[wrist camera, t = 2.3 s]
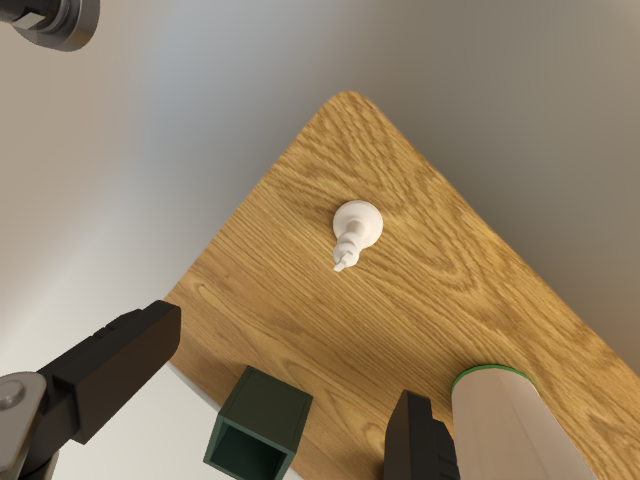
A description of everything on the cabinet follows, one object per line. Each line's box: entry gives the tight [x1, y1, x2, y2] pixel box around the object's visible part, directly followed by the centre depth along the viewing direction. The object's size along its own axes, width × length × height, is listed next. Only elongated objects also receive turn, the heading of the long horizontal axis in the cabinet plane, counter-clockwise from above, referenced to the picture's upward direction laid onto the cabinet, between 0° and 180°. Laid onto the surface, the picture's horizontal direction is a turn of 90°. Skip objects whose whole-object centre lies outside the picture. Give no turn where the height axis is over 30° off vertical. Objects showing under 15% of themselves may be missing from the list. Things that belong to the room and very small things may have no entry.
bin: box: [203, 366, 313, 480], centre depth 38 cm, size 10×10×8 cm
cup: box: [451, 365, 599, 480], centre depth 25 cm, size 12×12×15 cm
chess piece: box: [333, 200, 383, 272], centre depth 25 cm, size 5×5×10 cm
